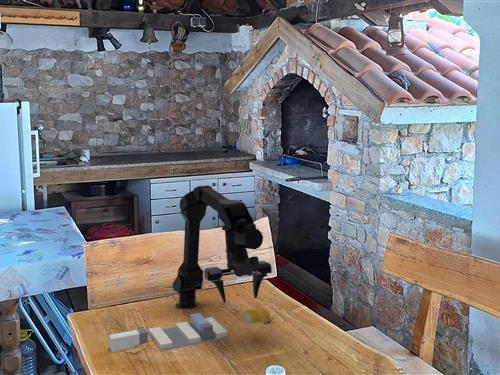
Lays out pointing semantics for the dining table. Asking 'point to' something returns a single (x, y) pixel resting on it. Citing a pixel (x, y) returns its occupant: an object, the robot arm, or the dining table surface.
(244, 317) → the bread roll
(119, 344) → the grey white bar
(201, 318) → the grey rectangular bar
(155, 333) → the rack
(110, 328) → the dining table surface
